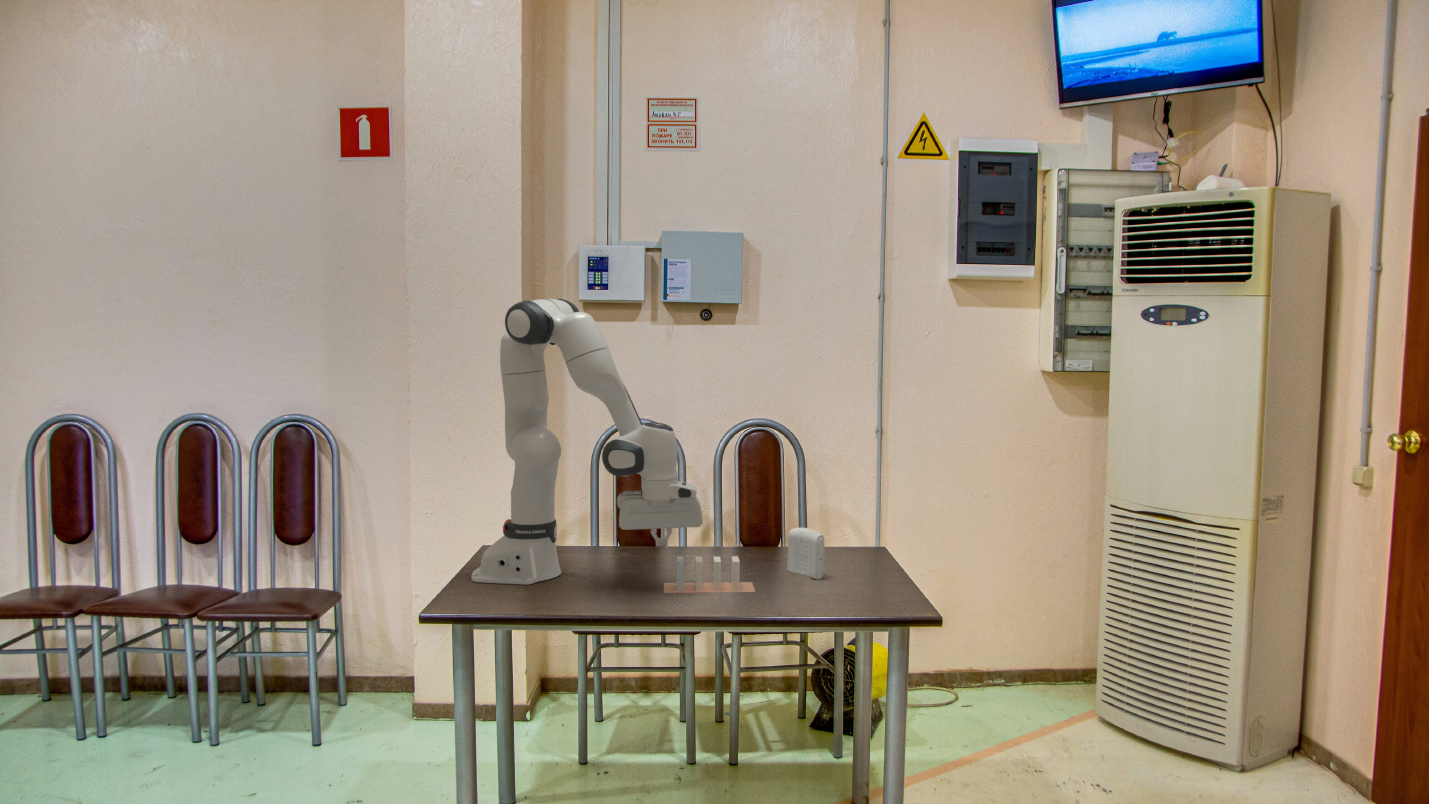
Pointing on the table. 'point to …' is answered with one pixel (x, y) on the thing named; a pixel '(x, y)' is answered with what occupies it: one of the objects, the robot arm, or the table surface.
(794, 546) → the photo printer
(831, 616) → the table surface
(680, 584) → the domino
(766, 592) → the table surface
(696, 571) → the domino
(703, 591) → the strip
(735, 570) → the domino
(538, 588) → the table surface
